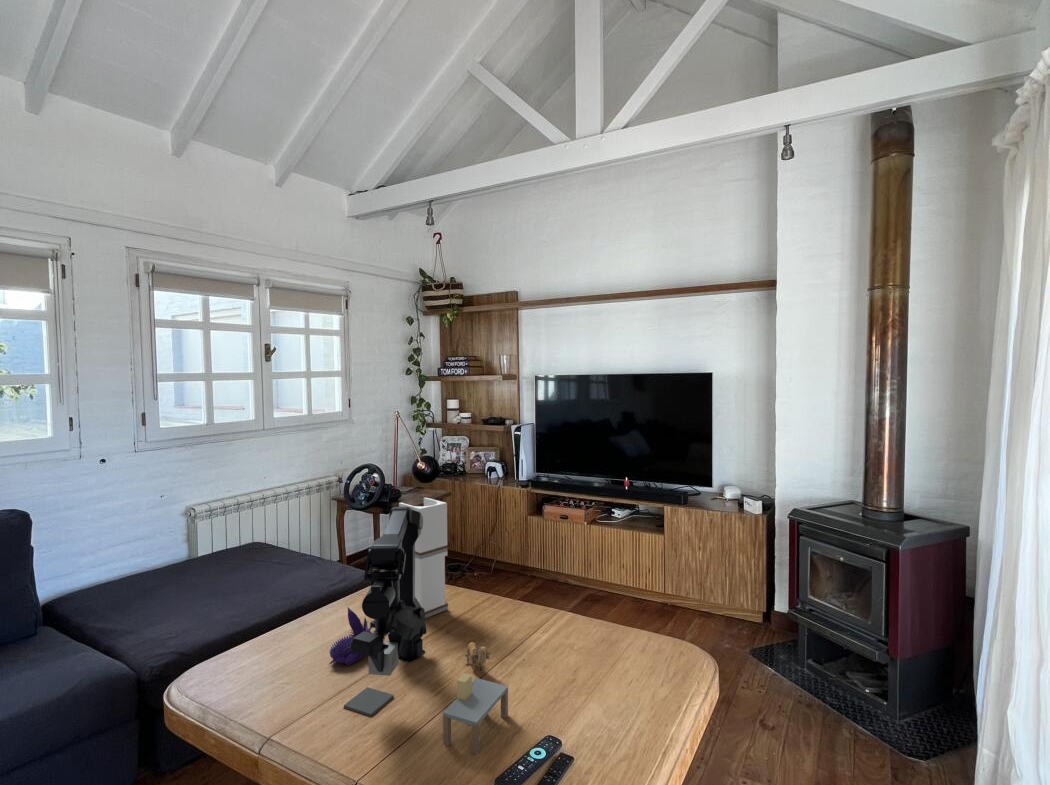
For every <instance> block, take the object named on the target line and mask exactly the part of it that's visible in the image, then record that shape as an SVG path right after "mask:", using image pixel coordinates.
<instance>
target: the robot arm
mask: <svg viewBox="0 0 1050 785" xmlns="http://www.w3.org/2000/svg"><path fill="white" fill-rule="evenodd" d="M422 528H423V516H422V514H421V513H420V512H418V511H415V510H412V508H409V507H399V506H394V507H391V508H390V512H389V514H388V521H387V524H386V526H385V529H384V532H383V534H382V536H380V537H378V538H376V539H374V541H373V543H372V544H371V546H370V548H369V549H368V551H367V555H366V562H365V570H364V578H363V581H364V582H370V588H369V590H368V591H367V593H366V594H365V596H364V598H363V600H362V603H361V609H362V611H363V614H364V615H365V617H368V618H370V619H372V620H371V621H370V623H369V628H370V627H372V628H371V629H375V630H374V631H373V632H372V633H369V632H365V631H363V632H362V633H360V634H359V635H357V636H356V637H354V638H353V639H352V640H351V641H350V652H354V653H358V654H362V655H364V656H366V657H368V656H369V657H370V658H371V660H372V662H373V663H374V665H375V667H376V669H377V671H378V672H382V671H383V665H384V651H385V649H386V648H387V647H389V645H386V644H384V642H385V639H386V638H385V637H387V638H388V642H395V643H398V660H400V661H404V662H408V663H413V662H414V661H416V660H417V659H419V658H420V657H421V656H422V655H424V654H425V653H426V650H425V649H423V647H424V646H423V641H424V640H423V636H425V635H426V634H427V622H426V618H425V610H424V608H422V607H421V605H420V603H419V602H418V600H417V599H416V597H415V542H416V541H417V539H418V537H419V535H420V534H421V529H422Z"/></svg>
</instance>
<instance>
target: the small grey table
mask: <svg viewBox="0 0 1050 785" xmlns="http://www.w3.org/2000/svg"><path fill="white" fill-rule="evenodd" d="M499 701H500V717H501V719H507V717H509V687H508V686H507V685H504V684H500V683H497V682H493V681H489V680H484V679H481V678H477V677H476V678H475V679H474V680H473V674H469V673H467V672H466V673H465V672H464V673H462V674H461V676H459V677H458V678H457V679H456V699H454V700H453V702H451V704H450V705H448V707H447V708H446V709H445V710H443V712H442V742H443V743H442V744H443V745H444V746H446V747H449V745H451V743H452V720H455V721H458V722H460V723H464V724H467V725H470V726H471V754H472V755H473V754H474V755H476V756H477V755H478V754H479V753H480V751H481V741H480V740H481V739H480V736H481V734H480V733H481V732H480V731H481V729H480V728H481V727H480V724H481V722H482V721H483V720H484V718H486V716H487V715H488V714H489V713H490V712H491V711H492V709H493V708H494V707H495V705H497V703H499Z"/></svg>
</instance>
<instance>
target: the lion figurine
mask: <svg viewBox="0 0 1050 785" xmlns="http://www.w3.org/2000/svg"><path fill="white" fill-rule="evenodd" d="M491 655H492V653H491V652H490V651H488V649H487V648H486V647H485V646H482V645H481V646H479V647H477V644H476V643H475V642H472V641H471V642H469V644H468V645H467V648H466V654H465V655H464V656H465V657H466V663H465V666H470V659H471V664H472V674H471V675H477V669H476V666H477V667H478V671H479V672H484V669H483V665H484V664H485V663H486V661H487V660H490V657H491Z"/></svg>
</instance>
